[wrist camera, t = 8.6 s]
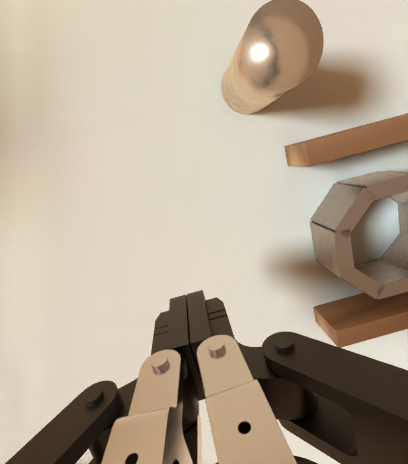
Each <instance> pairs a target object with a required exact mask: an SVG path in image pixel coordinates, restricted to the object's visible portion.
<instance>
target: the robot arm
mask: <svg viewBox="0 0 408 464" xmlns="http://www.w3.org/2000/svg"><path fill="white" fill-rule="evenodd" d="M154 329H155V330H154V336H153V344H152V351H151V356H150V357H148V358H147V359H146V360H145V361H144V363H143V364H142V366H141V369H140V372H139V376H138V378H137V379H135V380H134V381H132V382H130V383H129V384H127V385H125V386H123V387H121V388H119V389H117V386H116V384H115V383H114V382H112V381H101V382H98V383H95V384H93V385H91V386H90V387H88V388H87V389H85V390H84V391H83V392H82V393H81V394H80V395H78V396H77V397H76V398H75V399H74V400H73V401H72V402H71V403H70V404H69V405H68V406H67V407H66V408H64V409H63V410H62V411H61V412H60V413H59V414H58V415H57V416H56V417H55V418H54V419H53V420H52V421H50V422H49V423H48V424H47V425H46V426H45V427H44V428H43V429H42V430H41V431H40V432H39V433H38V434H36V435H35V436H34V437H33V438H32V439H31V440H30V441H29V442H28V443H27V444H26V445H25V446H24V447H23V448H21V449H20V450H19V451H18V452H17V453H16V454H15V455H14V456H13V457H12V458H11V459H10V460H9V461H7V462H6V463H5V464H75V463H76V462H77V461H78V460H79V459H80V457H81V456H82V455H83V454H84V453H85V452H86V451H87V450H88V448H89V450H90V452H91V454H92V456H93V459H92V460H91V462H90V463H89V464H202V442H201V418H200V415H199V402H198V401H199V400H203V399H205V402H206V407H207V411H208V416H209V421H210V426H211V430H212V435H213V440H214V445H215V449H216V454H217V459H218V463H216V464H317V463H315V462H313V461H310V460H308V459H305V458H302V457H298V456H293V454H292V452H291V450H290V448H289V446H288V444H287V441H286V439H285V437H284V435H283V433H282V431H281V429H280V427H279V424H278V422H277V420H276V419H279V422H280V423H281V425H282V426H283V427H284V428H285V429H287V430H288V431H290V432H291V433H293V434H294V435H296V436H297V437H299V438H301V439H302V440H304V441H305V442H307V443H309V444H310V445H312V446H313V447H315V448H317V449H318V450H320V451H321V452H323V453H325V454H326V455H328V456H329V457H331V458H333V459H334V460H336V461H337V462H339V463H341V464H408V370H405V369H402V368H399V367H396V366H393V365H390V364H387V363H384V362H381V361H378V360H375V359H372V358H369V357H366V356H363V355H360V354H357V353H354V352H351V351H348V350H345V349H342V348H339V347H336V346H333V345H330V344H327V343H324V342H321V341H318V340H315V339H312V338H309V337H306V336H303V335H300V334H297V333H293V332H278V333H275V334H273V335H271V336H269V337H268V338H267V339H266V340H265V341H264V342H263V345H262V347H248V346H244V345H242V344H240V343H238V342H237V341H236V340H235V338H234V335H233V332H232V329H231V326H230V322H229V319H228V316H227V313H226V310H225V307H224V304H223V302H222V301H221V300H219V299H218V298H213V299H209V300H205V296H204V293H203V290H201V291H197V292H193V293H190V294H187V296H186V295H183V296H179V297H175V298H172V299H170V308H169V311H166V312H162V313H161V314H160V315H159V316H158V318H157V319H156V321H155V328H154ZM205 394H206V397H205Z"/></svg>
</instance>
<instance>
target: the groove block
mask: <svg viewBox="0 0 408 464" xmlns="http://www.w3.org/2000/svg"><path fill="white" fill-rule="evenodd" d="M406 140H408V114H404V115H400V116H396V117H393V118H389V119H385V120H381V121H378V122H374V123H370V124H366V125H363V126H359V127H355V128H351V129H348V130H344V131H340V132H337V133H333V134H329V135H325V136H322V137H318V138H314V139H310V140H307V141H303V142H299V143H295V144H292V145H288V146H285V151H286V157H287V163H288V166H313V165H317V164H320V163H324V162H328V161H332V160H335V159H339V158H343V157H346V156H350V155H354V154H358V153H361V152H365V151H369V150H372V149H376V148H380V147H384V146H387V145H391V144H395V143H398V142H402V141H406ZM313 308H314V313H315V319H316V322H317V324H318V325H319V326H320V327H321V328H322V329H323V330H324V332H325V333H326V334H327V335H328V336H329V337H330V339H331V340H332V341H333V342H334V343H335V344H336V346H337V347H339V348H341V347H344V346H348V345H351V344H355V343H358V342H362V341H365V340H369V339H373V338H376V337H380V336H383V335H387V334H390V333H394V332H397V331H401V330H404V329H408V292H404V293H401V294H397V295H393V296H390V297H386V298H382V299H379V300H378V299H375V298H373V297H371V296H370V295H368V294H366V293H362V294H359V295H355V296H352V297H348V298H345V299H341V300H337V301H334V302H330V303H327V304H323V305H319V306H316V307H313Z"/></svg>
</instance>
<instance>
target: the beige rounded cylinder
mask: <svg viewBox="0 0 408 464" xmlns="http://www.w3.org/2000/svg"><path fill="white" fill-rule="evenodd" d="M322 51H323V32H322V27H321V24H320V22H319V20H318V18H317V16H316V14H315V13H314V12H313V10H312V9H311V8H310V7H309V6H308V5H306V4H305V3H303V2H301V1H299V0H272V1H270V2H268V3H266V4H265V5H263V6H262V7H261V8H260V9H259V10H258V11H257V12H256V13H255V14H254V16H253V17H252V19H251V21H250V23H249V25H248V27H247V29H246V31H245V33H244V35H243V37H242V39H241V41H240V43H239V45H238V47H237V49H236V51H235V53H234V55H233V57H232V59H231V61H230V63H229V65H228V67H227V69H226V71H225V73H224V76H223V79H222V94H223V97H224V99H225V101H226V103H227V104H228V105H229V107H230V108H232V109H233V110H234V111H236V112H238V113H241V114H253V113H256V112H258V111H260V110H261V109H263V108H264V107H266V106H267V105H269V104H270V103H272V102H273V101H275V100H276V99H278V98H279V97H281V96H282V95H284V94H285V93H287V92H288V91H290V90H291V89H293V88H294V87H296V86H297V85H299V84H300V83H302V82H303V81H305V80H306V79H307V78H308V77H309V76H310V75H311V74H312V73H313V72H314V70H315V69H316V67H317V65H318V63H319V61H320V59H321V55H322Z"/></svg>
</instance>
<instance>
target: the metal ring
mask: <svg viewBox="0 0 408 464" xmlns="http://www.w3.org/2000/svg"><path fill="white" fill-rule="evenodd" d="M385 197H390V198H391V199H393V200H394V201H396V202H397V203H398V211H399V224H400V234H399V235H398V237H397V238H396V240H395V241H394V242H393V244H392V245H391V246H390V248H389V249H388V250H387V252H386V253H385V254H384V256H383V257H382V259H379V260H375V261H372V262H368V263H364V264H361V265H357V266H354V260H353V252H352V244H351V236H350V233H351V232H352V230H353V229H354V227H355V226H356V224H357V223H358V222H359V220H360V219H361V217H362V216H363V215H364V213H365V212H366V210H367V209H368V207H369V206H370V205H371V203H372V202H373V201H374V200H377V199H381V198H385ZM311 220H312V221H311V222H310V226H311V232H312V238H313V245H314V251H315V257H316V260H317V262H319V263H320V264H321V265H323V266H324V267H326V268H327V269H328V270H330V271H331V272H333V273H334V274H335V275H337V276H338V277H340V278H341V279H343V280H344V281H346V282H348V283H349V284H351V285H353V286H354V287H356V288H358V289H360V290H361V291H363V292H365V293H366V294H368V295H370V296H371V297H373V298H375V299H378V300H379V299H382V298H386V297H390V296H393V295H397V294H401V293H404V292H408V173H401V172H373V173H370V174H366V175H362V176H358V177H354V178H351V179H347V180H343V181H339V182H337V184H334V185H333V187H332V188H331V190H330V191H329V193H328V194H327V196H326V197H325V199H324V200H323V202H322V203H321V205H320V206H319V208H318V209H317V211H316V212H315V214H314V215H313V217H312V218H311Z"/></svg>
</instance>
